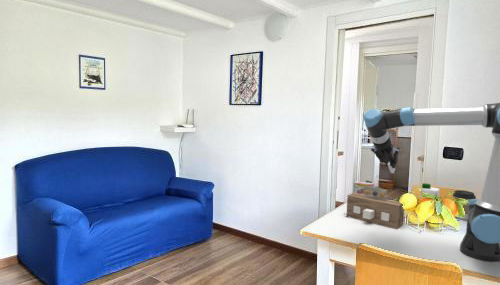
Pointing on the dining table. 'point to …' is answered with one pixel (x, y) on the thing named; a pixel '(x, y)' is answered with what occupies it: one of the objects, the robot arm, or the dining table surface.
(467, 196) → the coffee cup
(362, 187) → the candy bar box
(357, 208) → the button left
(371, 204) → the console
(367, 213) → the button middle
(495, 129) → the robot arm
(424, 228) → the dining table surface
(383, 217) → the button right
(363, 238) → the dining table surface
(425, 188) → the milk carton
